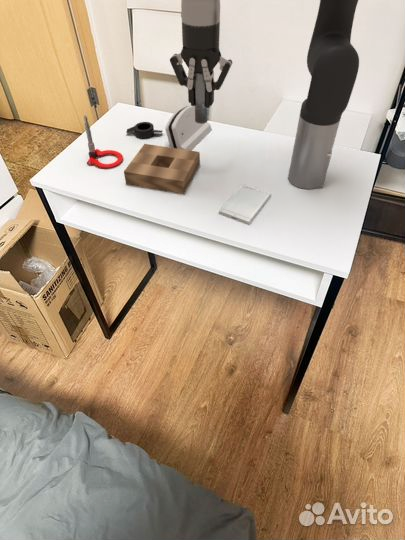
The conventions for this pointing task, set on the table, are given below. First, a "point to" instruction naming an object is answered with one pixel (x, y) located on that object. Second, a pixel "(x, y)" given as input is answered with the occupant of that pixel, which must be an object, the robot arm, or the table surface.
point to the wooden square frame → (162, 168)
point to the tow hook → (100, 152)
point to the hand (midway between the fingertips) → (201, 105)
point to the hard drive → (245, 204)
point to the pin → (200, 99)
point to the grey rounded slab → (186, 129)
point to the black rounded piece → (143, 130)
